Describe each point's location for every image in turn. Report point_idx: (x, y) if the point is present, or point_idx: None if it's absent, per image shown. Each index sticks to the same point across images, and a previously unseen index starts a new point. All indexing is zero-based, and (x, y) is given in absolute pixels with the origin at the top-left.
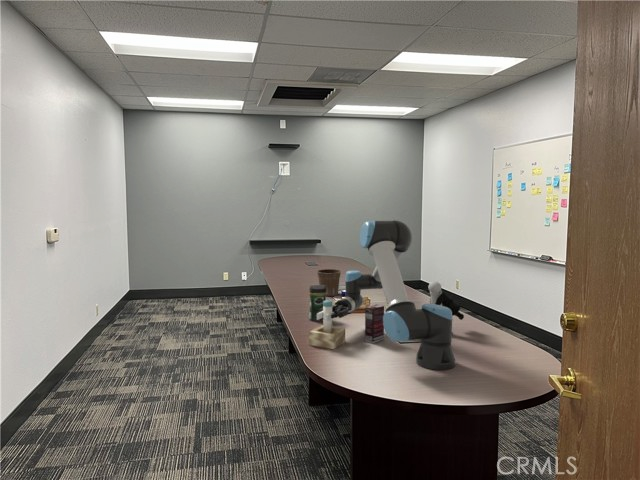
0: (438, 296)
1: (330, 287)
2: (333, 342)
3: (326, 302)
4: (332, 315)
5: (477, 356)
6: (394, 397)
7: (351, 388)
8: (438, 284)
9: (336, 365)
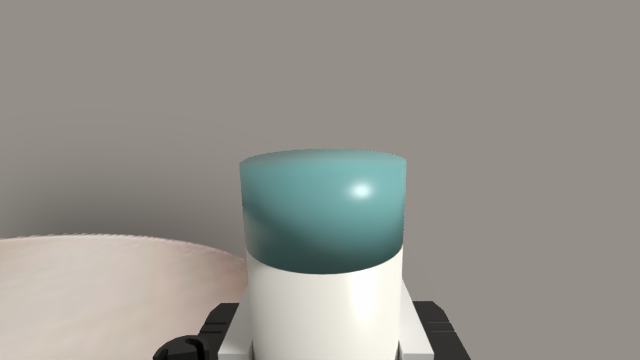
0: None
1: None
2: None
3: (311, 150)
4: (227, 307)
5: None
6: (43, 239)
7: (139, 237)
8: None
9: (181, 302)
